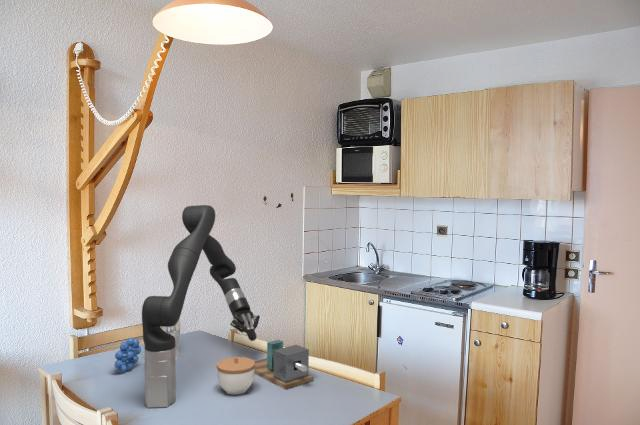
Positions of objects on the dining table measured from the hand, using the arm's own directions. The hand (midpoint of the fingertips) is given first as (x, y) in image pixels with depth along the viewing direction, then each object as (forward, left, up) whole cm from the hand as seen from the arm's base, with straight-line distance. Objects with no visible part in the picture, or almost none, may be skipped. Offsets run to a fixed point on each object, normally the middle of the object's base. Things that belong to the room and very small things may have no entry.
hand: (253, 339), depth 189 cm
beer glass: (+12, +33, -10) cm, 37 cm away
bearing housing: (-18, -13, -8) cm, 24 cm away
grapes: (-4, +46, -10) cm, 47 cm away
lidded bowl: (-25, +5, -10) cm, 27 cm away
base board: (-12, -9, -9) cm, 17 cm away
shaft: (-17, -13, -7) cm, 22 cm away
